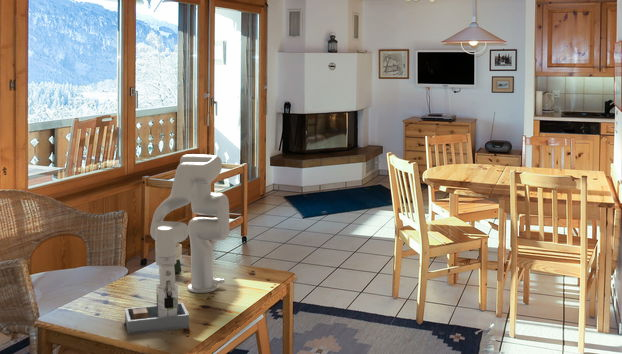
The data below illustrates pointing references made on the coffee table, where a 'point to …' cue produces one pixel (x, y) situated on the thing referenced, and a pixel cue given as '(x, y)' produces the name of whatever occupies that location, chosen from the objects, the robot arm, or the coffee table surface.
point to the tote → (156, 320)
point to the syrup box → (160, 302)
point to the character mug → (178, 256)
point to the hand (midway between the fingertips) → (167, 303)
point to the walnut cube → (140, 313)
